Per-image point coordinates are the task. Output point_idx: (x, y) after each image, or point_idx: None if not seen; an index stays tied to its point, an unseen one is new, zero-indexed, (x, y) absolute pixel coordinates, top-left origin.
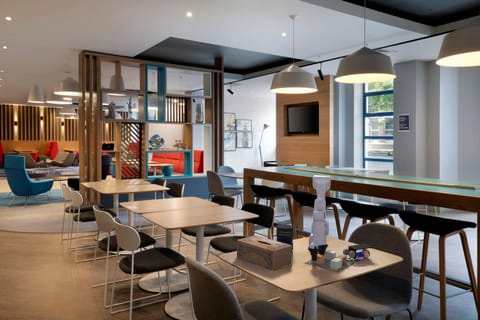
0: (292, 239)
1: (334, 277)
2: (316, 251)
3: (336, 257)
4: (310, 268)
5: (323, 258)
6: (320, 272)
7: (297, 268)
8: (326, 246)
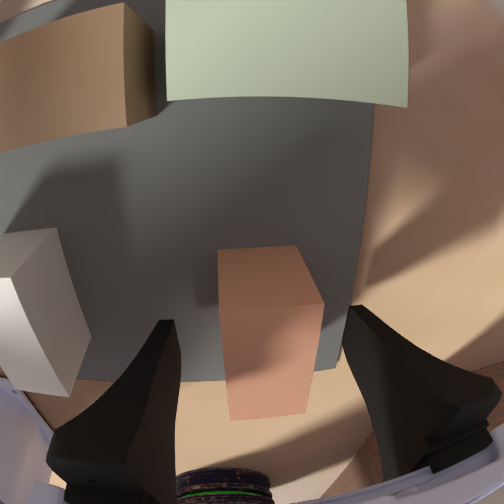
0: None
1: (497, 13)
2: (477, 379)
3: (127, 116)
4: (434, 266)
5: (256, 286)
6: (479, 151)
7: (463, 322)
8: (123, 445)
